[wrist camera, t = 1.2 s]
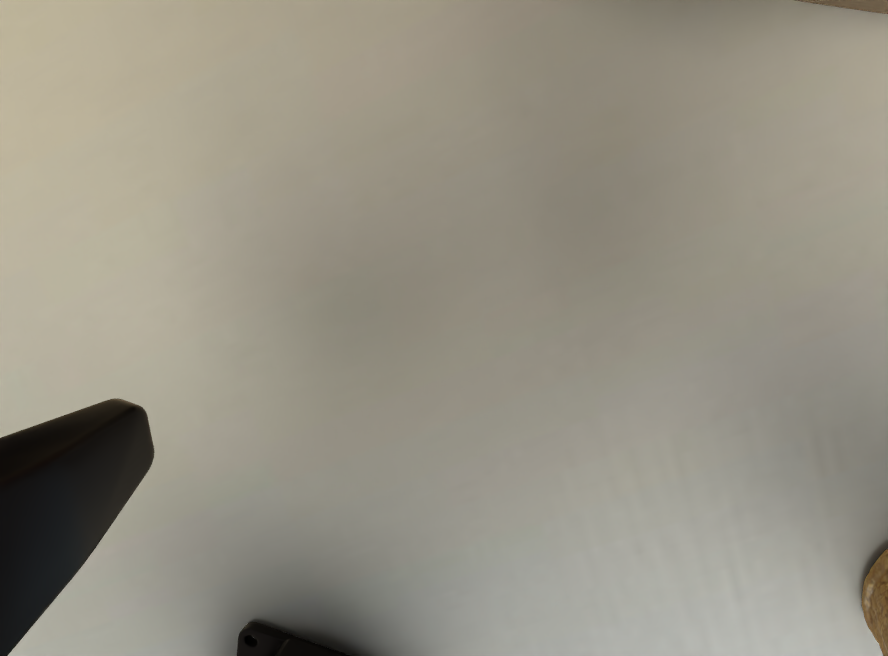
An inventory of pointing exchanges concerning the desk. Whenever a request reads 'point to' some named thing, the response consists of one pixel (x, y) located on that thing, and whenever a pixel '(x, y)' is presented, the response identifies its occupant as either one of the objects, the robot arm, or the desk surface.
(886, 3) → the block
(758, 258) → the desk surface
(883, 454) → the desk surface
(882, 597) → the sprinkles bottle
